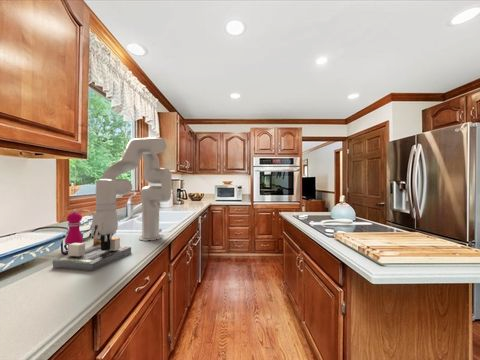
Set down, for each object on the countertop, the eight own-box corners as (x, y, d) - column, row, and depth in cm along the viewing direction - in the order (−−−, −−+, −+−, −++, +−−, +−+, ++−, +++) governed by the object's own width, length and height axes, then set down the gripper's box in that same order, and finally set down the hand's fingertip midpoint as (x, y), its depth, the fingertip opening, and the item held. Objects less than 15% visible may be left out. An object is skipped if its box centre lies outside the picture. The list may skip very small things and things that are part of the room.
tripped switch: (110, 248, 101) (110, 237, 101) (119, 248, 100) (120, 238, 100) (105, 250, 98) (105, 239, 98) (115, 250, 97) (115, 239, 98)
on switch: (74, 253, 94) (74, 242, 94) (84, 254, 93) (85, 243, 93) (68, 255, 91) (68, 244, 91) (78, 256, 90) (78, 245, 90)
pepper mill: (86, 247, 113) (87, 208, 113) (74, 252, 106) (75, 210, 106) (73, 247, 114) (74, 208, 114) (60, 251, 106) (61, 210, 107)
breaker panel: (98, 250, 108) (98, 244, 108) (131, 253, 105) (131, 246, 105) (52, 267, 87) (52, 259, 87) (92, 271, 83) (92, 263, 83)
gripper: (111, 205, 104) (111, 244, 103) (83, 209, 89) (82, 255, 89) (125, 206, 102) (125, 245, 102) (99, 210, 88) (99, 256, 87)
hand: (105, 249), depth 95 cm, fingers closed
